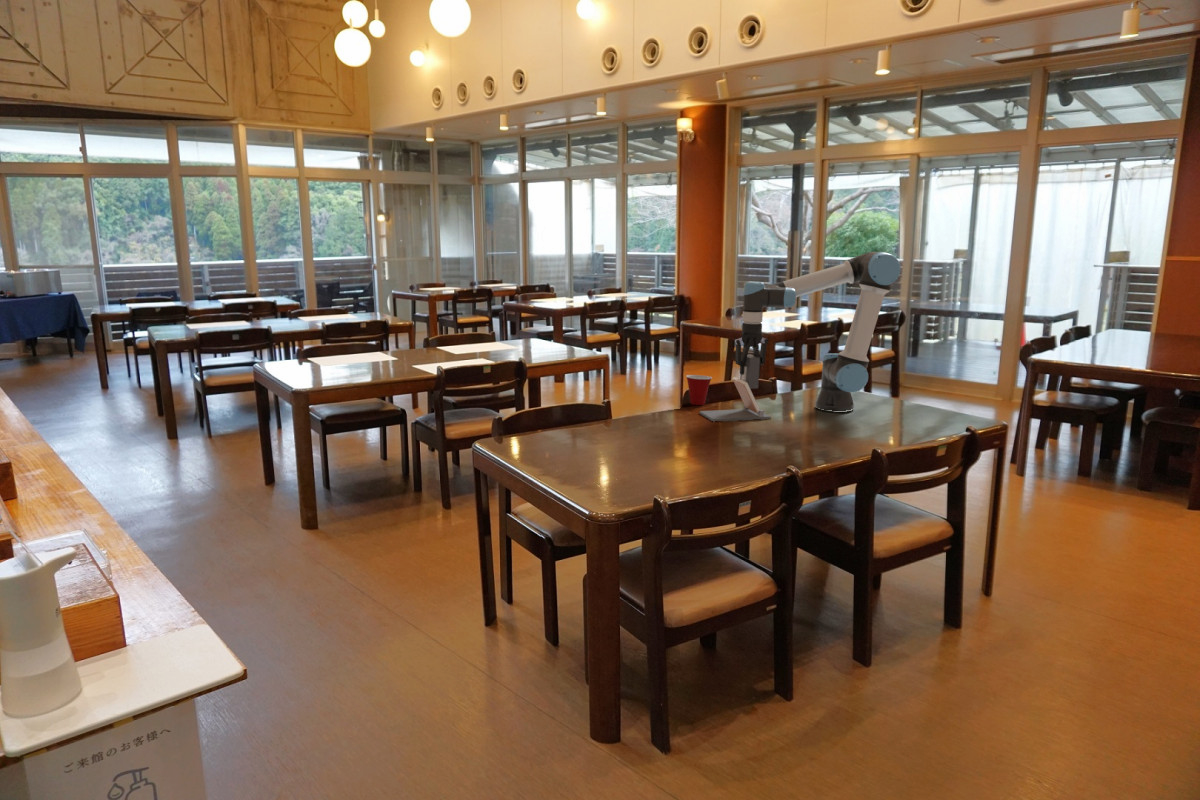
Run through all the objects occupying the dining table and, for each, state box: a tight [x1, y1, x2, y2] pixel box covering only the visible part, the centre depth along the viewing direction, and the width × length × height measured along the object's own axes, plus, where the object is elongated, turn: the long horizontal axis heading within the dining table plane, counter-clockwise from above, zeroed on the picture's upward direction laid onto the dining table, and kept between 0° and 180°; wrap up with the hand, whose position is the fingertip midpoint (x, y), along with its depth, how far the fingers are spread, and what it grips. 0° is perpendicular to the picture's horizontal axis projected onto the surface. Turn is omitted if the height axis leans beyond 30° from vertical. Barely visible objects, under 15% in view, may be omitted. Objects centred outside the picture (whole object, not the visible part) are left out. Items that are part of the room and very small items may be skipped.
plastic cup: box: [685, 374, 713, 406], centre depth 327 cm, size 11×11×12 cm
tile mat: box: [699, 405, 772, 423], centre depth 307 cm, size 24×14×4 cm, turn 105°
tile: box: [732, 376, 761, 414], centre depth 307 cm, size 2×11×14 cm, turn 13°
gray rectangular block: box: [739, 353, 760, 390], centre depth 305 cm, size 4×8×12 cm, turn 14°
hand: (749, 382), depth 306 cm, fingers closed on gray rectangular block, 4 cm apart
